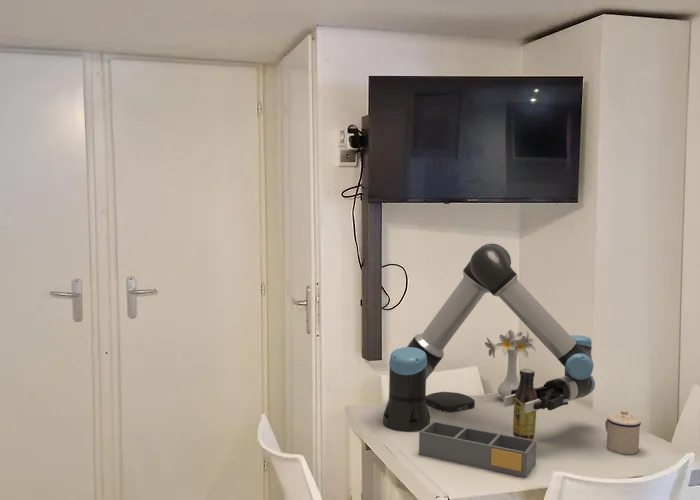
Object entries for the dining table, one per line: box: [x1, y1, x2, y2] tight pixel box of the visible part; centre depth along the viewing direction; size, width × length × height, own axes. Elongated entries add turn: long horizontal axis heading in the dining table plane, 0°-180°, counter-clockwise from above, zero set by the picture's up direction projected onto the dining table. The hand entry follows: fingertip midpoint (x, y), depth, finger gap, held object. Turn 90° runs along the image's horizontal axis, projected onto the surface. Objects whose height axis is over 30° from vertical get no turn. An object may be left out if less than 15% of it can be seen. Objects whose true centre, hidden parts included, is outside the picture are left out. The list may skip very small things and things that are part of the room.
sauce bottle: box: [512, 368, 538, 440], centre depth 192 cm, size 7×6×20 cm
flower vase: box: [484, 329, 537, 401], centre depth 240 cm, size 13×18×25 cm
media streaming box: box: [425, 391, 476, 413], centre depth 235 cm, size 15×15×3 cm
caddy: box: [418, 420, 538, 478], centre depth 186 cm, size 30×11×6 cm, turn 61°
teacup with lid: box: [604, 409, 642, 455], centre depth 197 cm, size 12×9×12 cm
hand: (515, 405), depth 189 cm, fingers closed on sauce bottle, 6 cm apart
